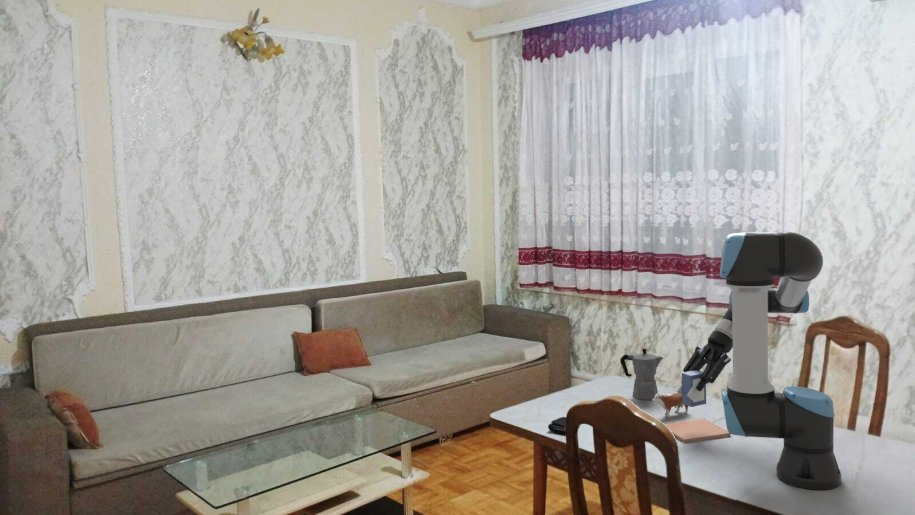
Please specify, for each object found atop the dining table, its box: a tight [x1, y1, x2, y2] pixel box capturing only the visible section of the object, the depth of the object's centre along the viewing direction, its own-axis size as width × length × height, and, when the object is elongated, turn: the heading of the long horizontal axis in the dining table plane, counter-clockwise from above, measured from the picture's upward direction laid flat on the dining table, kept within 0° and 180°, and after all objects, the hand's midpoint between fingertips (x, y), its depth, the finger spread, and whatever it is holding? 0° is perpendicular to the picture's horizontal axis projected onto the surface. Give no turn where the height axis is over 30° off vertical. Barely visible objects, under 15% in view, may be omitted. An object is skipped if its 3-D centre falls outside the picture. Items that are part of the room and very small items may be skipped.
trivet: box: [665, 418, 732, 444], centre depth 219 cm, size 14×16×1 cm
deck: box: [681, 370, 707, 408], centre depth 218 cm, size 6×4×10 cm
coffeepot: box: [619, 348, 664, 401], centre depth 257 cm, size 15×9×18 cm, turn 75°
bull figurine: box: [651, 392, 689, 418], centre depth 236 cm, size 4×13×8 cm, turn 107°
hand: (684, 395), depth 217 cm, fingers closed on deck, 4 cm apart
